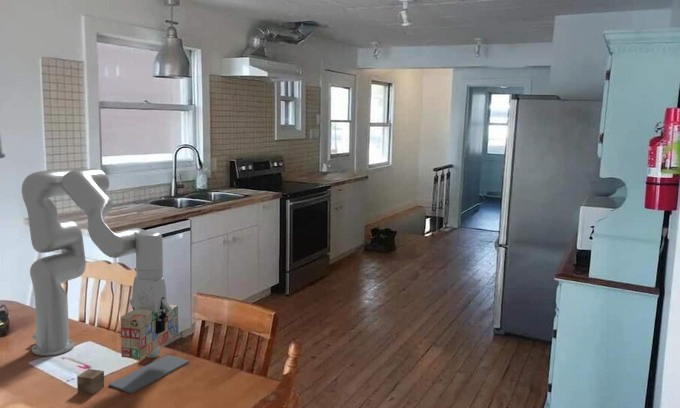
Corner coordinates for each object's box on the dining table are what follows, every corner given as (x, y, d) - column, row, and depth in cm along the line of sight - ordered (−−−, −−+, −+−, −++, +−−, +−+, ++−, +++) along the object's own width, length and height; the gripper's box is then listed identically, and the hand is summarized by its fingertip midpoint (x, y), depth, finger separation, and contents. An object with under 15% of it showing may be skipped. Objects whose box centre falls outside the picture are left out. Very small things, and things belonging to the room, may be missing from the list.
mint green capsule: (144, 356, 180) (144, 339, 179) (153, 352, 184) (153, 335, 183) (153, 359, 178) (153, 341, 178) (162, 354, 182) (162, 337, 181)
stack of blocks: (161, 330, 178) (160, 294, 176) (178, 332, 177) (178, 296, 175) (121, 357, 158) (120, 316, 156) (140, 359, 156) (139, 318, 154)
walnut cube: (77, 393, 155) (77, 376, 155) (89, 385, 160) (88, 368, 159) (93, 395, 154) (92, 378, 154) (104, 387, 159) (103, 370, 158)
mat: (108, 386, 160) (108, 384, 160) (168, 356, 181) (168, 354, 181) (131, 393, 156) (131, 391, 156) (189, 362, 177) (189, 360, 177)
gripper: (118, 271, 164) (120, 328, 167) (162, 280, 157) (163, 339, 159) (138, 266, 171) (139, 320, 173) (180, 274, 163) (181, 331, 166)
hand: (150, 329), depth 166 cm, fingers closed on stack of blocks, 7 cm apart
